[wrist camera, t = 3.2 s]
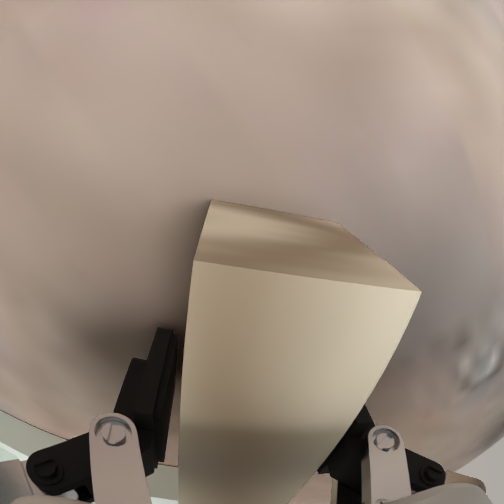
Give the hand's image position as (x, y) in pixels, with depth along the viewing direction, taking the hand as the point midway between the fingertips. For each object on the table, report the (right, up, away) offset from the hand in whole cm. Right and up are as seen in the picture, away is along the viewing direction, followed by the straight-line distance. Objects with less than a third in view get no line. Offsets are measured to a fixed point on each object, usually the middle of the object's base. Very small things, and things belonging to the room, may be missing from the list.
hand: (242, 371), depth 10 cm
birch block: (0, 0, +1) cm, 1 cm away
